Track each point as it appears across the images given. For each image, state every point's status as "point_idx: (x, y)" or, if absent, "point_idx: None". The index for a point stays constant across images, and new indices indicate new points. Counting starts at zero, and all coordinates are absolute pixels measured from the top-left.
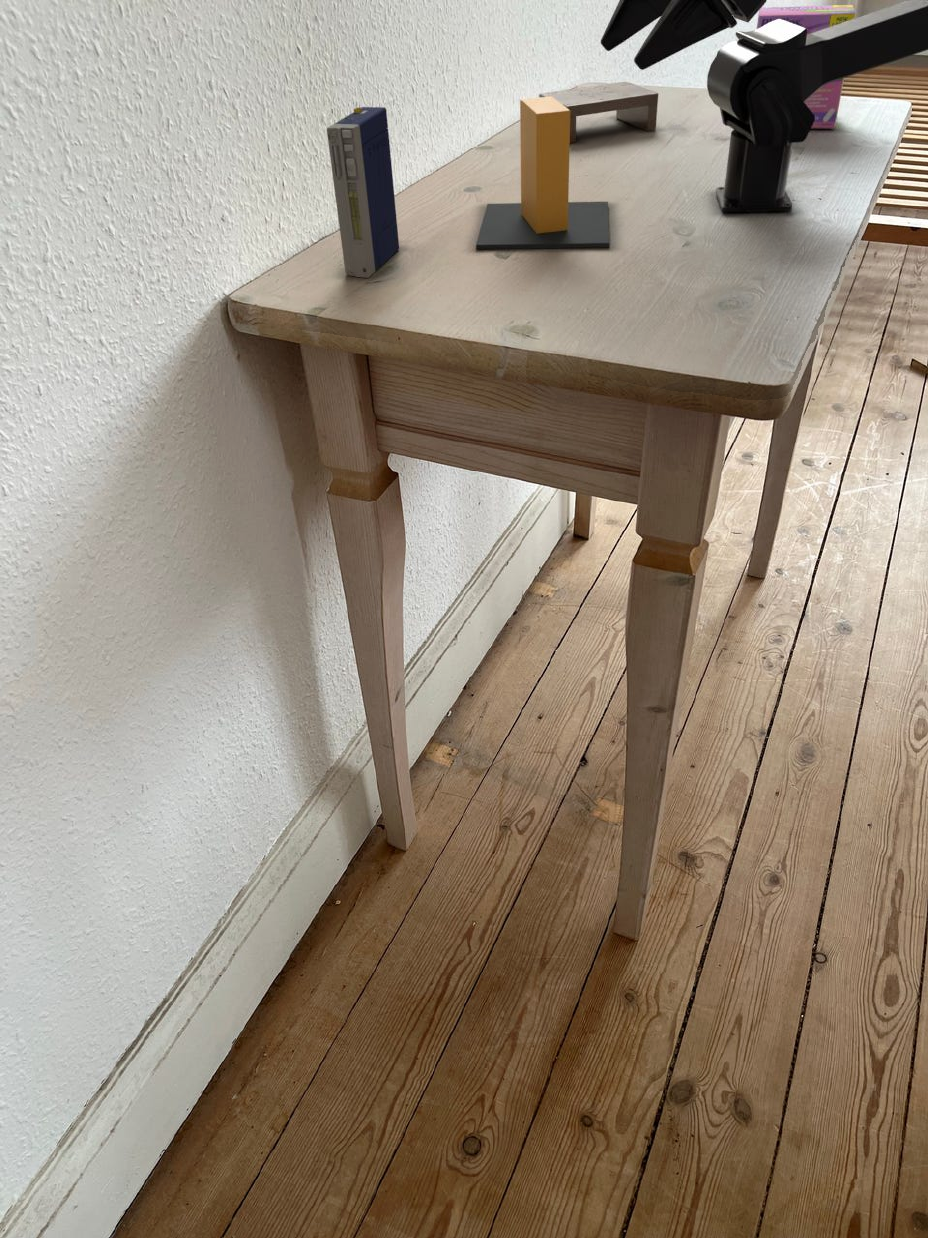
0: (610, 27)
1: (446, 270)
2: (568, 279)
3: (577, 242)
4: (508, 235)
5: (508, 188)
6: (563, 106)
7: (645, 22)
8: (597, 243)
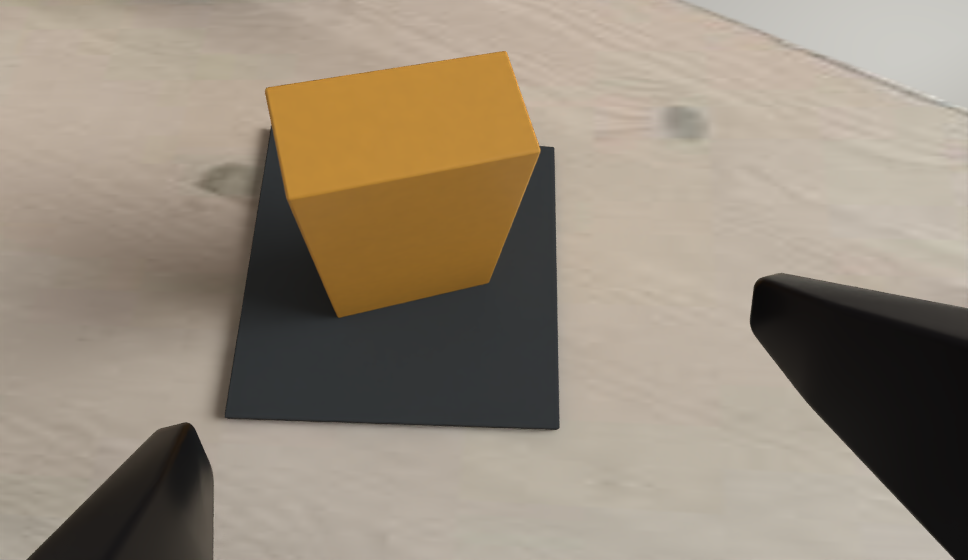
0: (816, 303)
1: (157, 75)
2: (29, 313)
3: (243, 338)
4: None
5: (695, 197)
6: (361, 179)
7: (958, 543)
8: (230, 387)
